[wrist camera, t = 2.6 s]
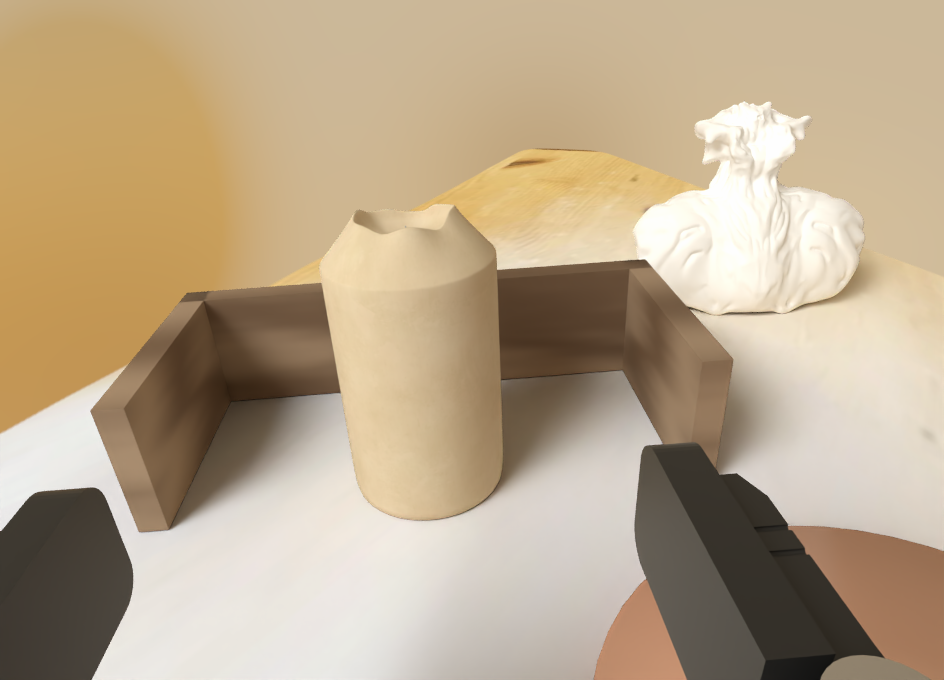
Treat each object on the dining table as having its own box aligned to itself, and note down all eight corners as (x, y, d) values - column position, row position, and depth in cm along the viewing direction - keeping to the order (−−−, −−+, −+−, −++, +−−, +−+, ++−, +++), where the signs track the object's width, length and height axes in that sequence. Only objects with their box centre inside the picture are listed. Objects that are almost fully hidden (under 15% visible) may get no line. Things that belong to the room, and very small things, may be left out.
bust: (832, 324, 37) (812, 144, 39) (912, 293, 30) (882, 72, 31) (624, 329, 38) (614, 152, 40) (650, 300, 30) (637, 84, 32)
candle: (490, 419, 27) (479, 180, 22) (517, 510, 22) (510, 229, 17) (358, 435, 26) (317, 194, 21) (355, 533, 21) (302, 248, 16)
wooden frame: (215, 390, 30) (186, 292, 27) (637, 357, 30) (645, 259, 28) (139, 532, 22) (90, 411, 19) (713, 482, 22) (733, 359, 20)
